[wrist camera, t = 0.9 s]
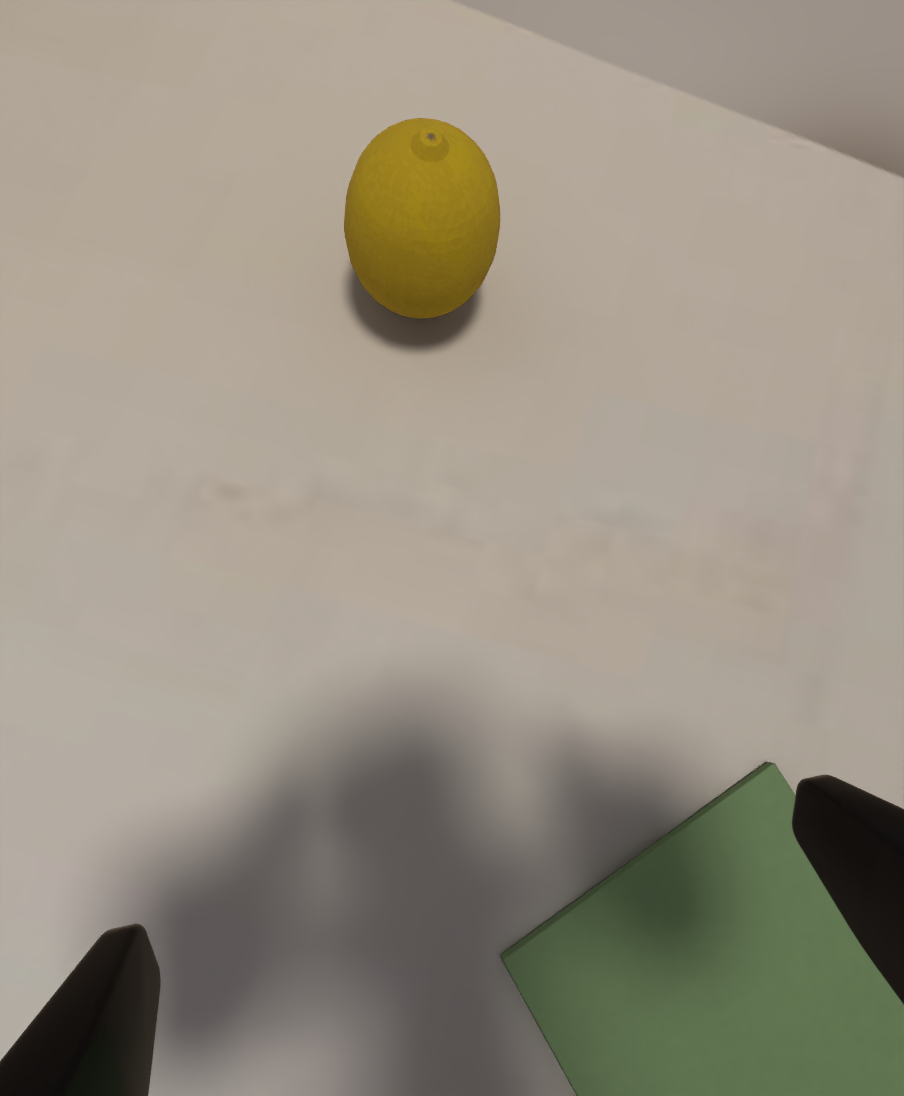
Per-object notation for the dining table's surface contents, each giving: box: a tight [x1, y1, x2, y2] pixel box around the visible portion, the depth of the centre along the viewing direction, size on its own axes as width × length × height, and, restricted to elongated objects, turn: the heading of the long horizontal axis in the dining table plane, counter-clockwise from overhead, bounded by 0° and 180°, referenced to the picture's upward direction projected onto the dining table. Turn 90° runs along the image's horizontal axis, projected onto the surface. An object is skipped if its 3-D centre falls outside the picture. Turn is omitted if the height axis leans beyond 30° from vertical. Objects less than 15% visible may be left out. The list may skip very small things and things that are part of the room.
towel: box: [501, 762, 904, 1096], centre depth 22 cm, size 14×12×1 cm
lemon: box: [344, 118, 500, 319], centre depth 23 cm, size 6×6×8 cm
